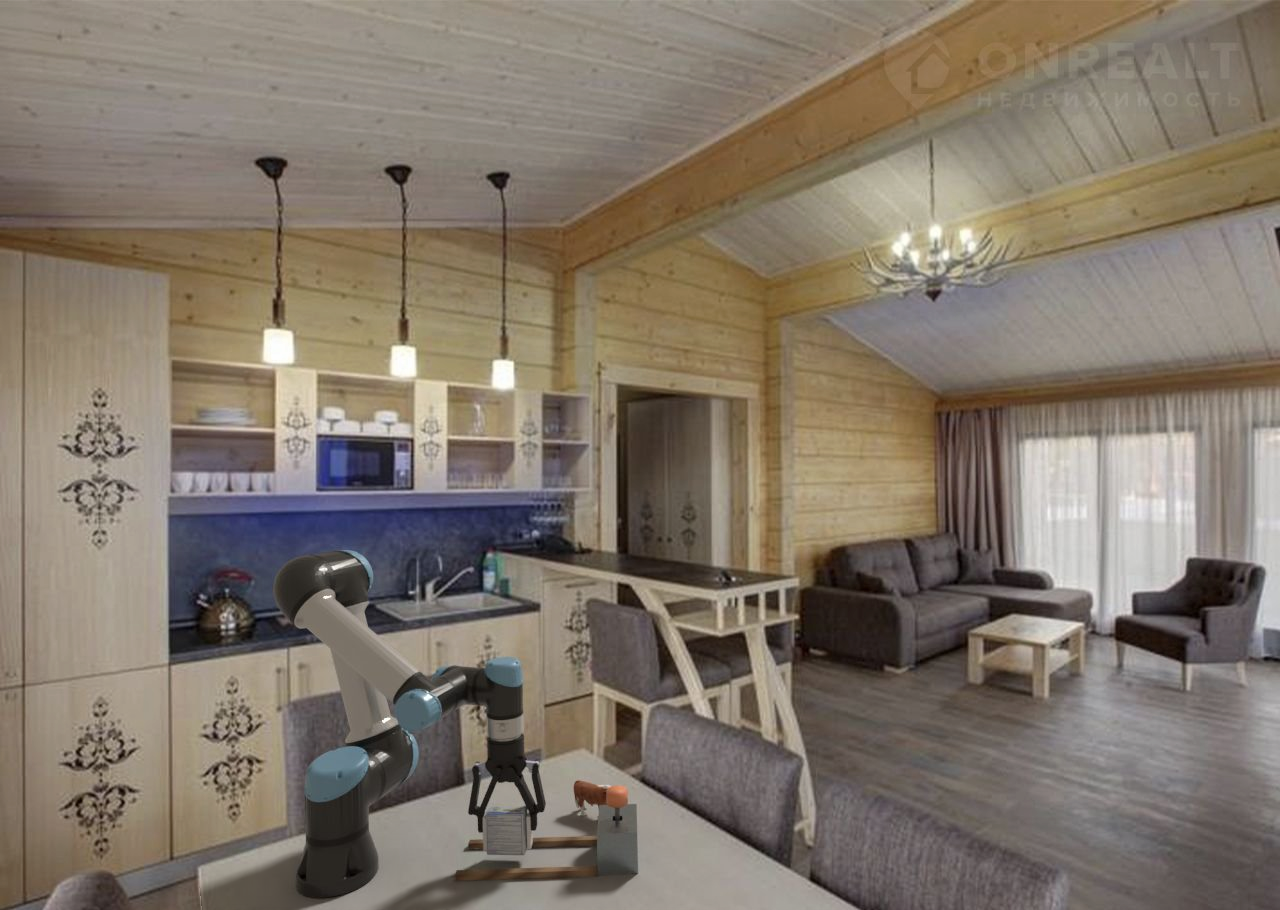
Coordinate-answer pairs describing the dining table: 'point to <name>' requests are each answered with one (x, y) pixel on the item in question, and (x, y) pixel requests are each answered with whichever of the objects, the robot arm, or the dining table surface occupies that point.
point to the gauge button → (617, 799)
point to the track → (533, 872)
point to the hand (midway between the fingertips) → (508, 846)
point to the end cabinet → (617, 840)
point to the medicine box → (506, 829)
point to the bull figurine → (589, 794)
